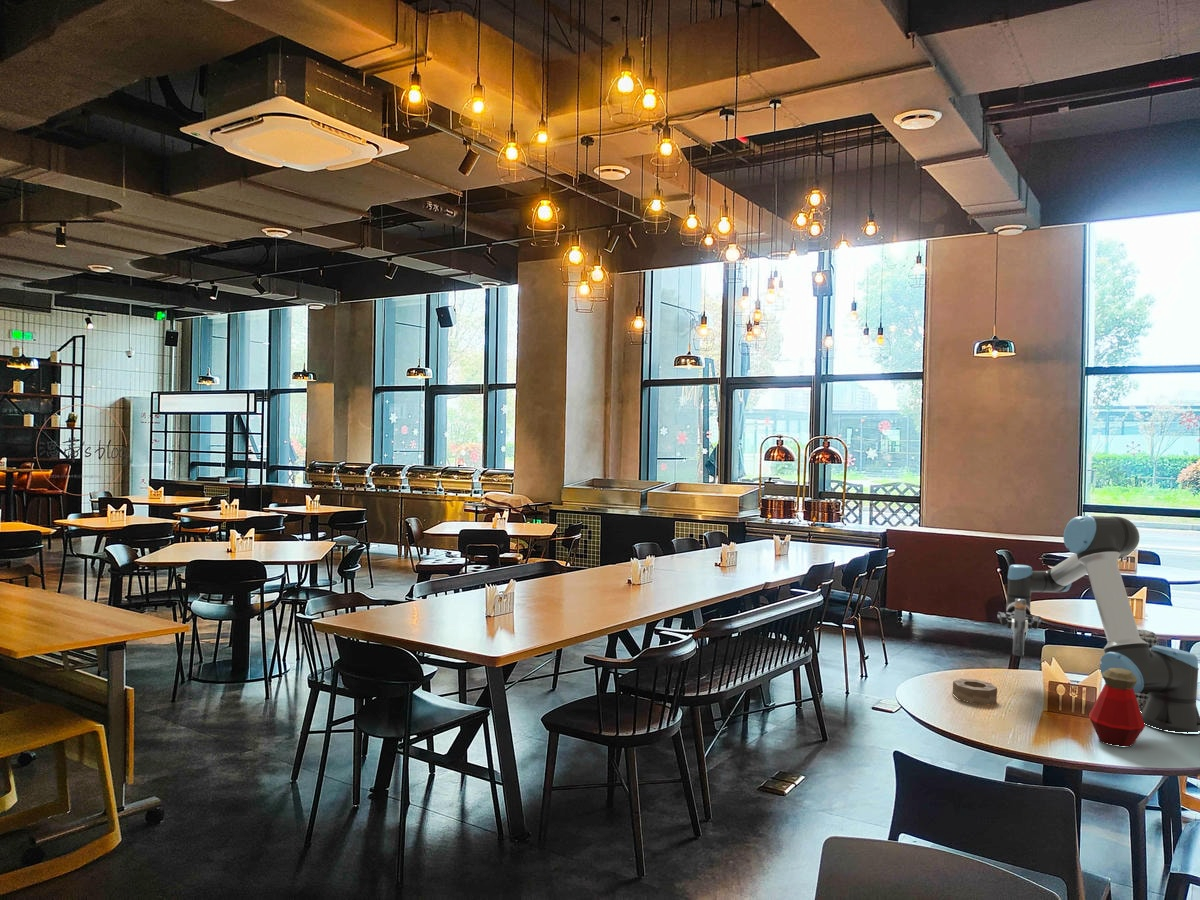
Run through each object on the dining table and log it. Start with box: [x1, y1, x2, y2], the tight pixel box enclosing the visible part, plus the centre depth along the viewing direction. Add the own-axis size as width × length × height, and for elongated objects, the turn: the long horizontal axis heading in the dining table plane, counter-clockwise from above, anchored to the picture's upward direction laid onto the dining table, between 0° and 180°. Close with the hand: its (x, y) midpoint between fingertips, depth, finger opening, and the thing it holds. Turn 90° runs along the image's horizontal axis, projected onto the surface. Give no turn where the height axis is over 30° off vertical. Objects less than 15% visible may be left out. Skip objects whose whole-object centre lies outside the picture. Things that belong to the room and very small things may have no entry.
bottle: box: [1088, 668, 1146, 747], centre depth 234 cm, size 16×14×20 cm
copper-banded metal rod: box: [1012, 599, 1026, 657], centre depth 272 cm, size 3×3×18 cm
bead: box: [952, 678, 998, 705], centre depth 270 cm, size 12×12×4 cm
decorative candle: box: [1135, 629, 1159, 712], centre depth 264 cm, size 9×9×25 cm
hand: (1019, 627), depth 267 cm, fingers closed on copper-banded metal rod, 3 cm apart
